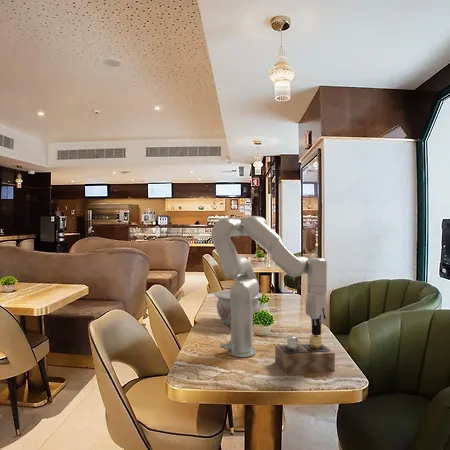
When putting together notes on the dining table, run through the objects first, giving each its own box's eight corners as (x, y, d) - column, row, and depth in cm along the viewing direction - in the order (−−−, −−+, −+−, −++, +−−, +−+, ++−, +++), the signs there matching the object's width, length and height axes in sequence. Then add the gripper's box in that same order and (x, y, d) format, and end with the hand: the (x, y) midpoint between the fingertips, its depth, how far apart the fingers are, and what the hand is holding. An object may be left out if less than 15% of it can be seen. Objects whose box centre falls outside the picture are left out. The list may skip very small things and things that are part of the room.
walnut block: (285, 374, 132) (286, 355, 132) (275, 362, 144) (275, 344, 144) (334, 370, 136) (334, 352, 136) (320, 359, 148) (320, 341, 148)
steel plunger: (289, 356, 137) (289, 339, 137) (285, 353, 141) (286, 335, 141) (299, 356, 138) (299, 338, 138) (295, 352, 142) (295, 335, 142)
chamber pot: (264, 331, 185) (265, 292, 185) (212, 330, 186) (213, 291, 186) (260, 317, 213) (260, 283, 213) (215, 316, 214) (215, 282, 214)
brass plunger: (313, 355, 139) (313, 337, 139) (309, 351, 143) (309, 334, 143) (322, 354, 140) (323, 337, 140) (318, 351, 144) (318, 334, 144)
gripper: (300, 285, 148) (300, 329, 148) (316, 292, 133) (316, 341, 133) (317, 285, 149) (316, 328, 149) (334, 292, 134) (334, 340, 135)
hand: (316, 334), depth 141 cm, fingers closed
